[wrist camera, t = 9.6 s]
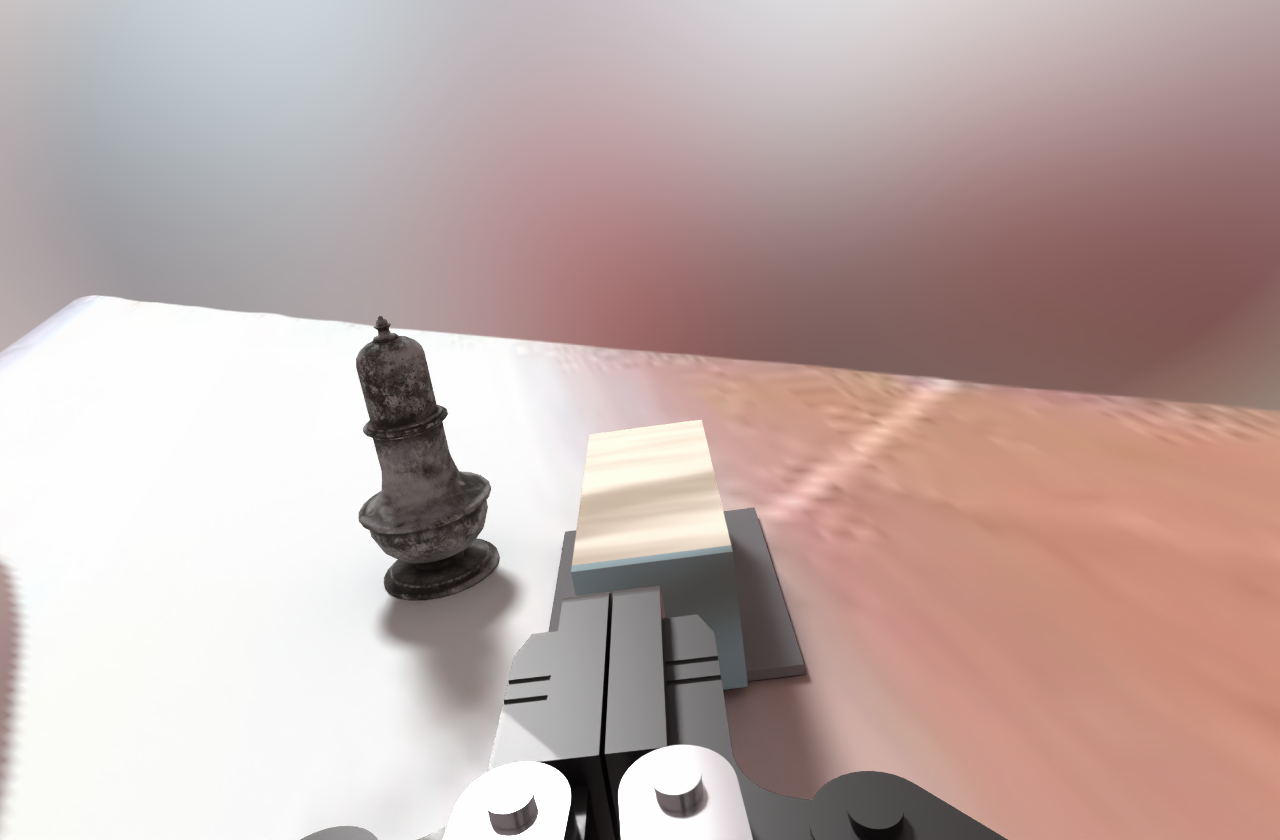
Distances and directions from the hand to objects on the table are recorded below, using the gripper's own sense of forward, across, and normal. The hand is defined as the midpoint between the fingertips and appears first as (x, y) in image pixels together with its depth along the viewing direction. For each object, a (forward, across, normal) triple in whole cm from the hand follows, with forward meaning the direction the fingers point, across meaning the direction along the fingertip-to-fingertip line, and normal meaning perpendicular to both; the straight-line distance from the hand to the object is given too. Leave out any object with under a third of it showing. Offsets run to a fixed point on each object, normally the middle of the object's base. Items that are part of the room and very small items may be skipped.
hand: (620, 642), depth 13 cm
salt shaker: (+23, +10, +11) cm, 27 cm away
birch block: (+12, 0, +8) cm, 14 cm away
